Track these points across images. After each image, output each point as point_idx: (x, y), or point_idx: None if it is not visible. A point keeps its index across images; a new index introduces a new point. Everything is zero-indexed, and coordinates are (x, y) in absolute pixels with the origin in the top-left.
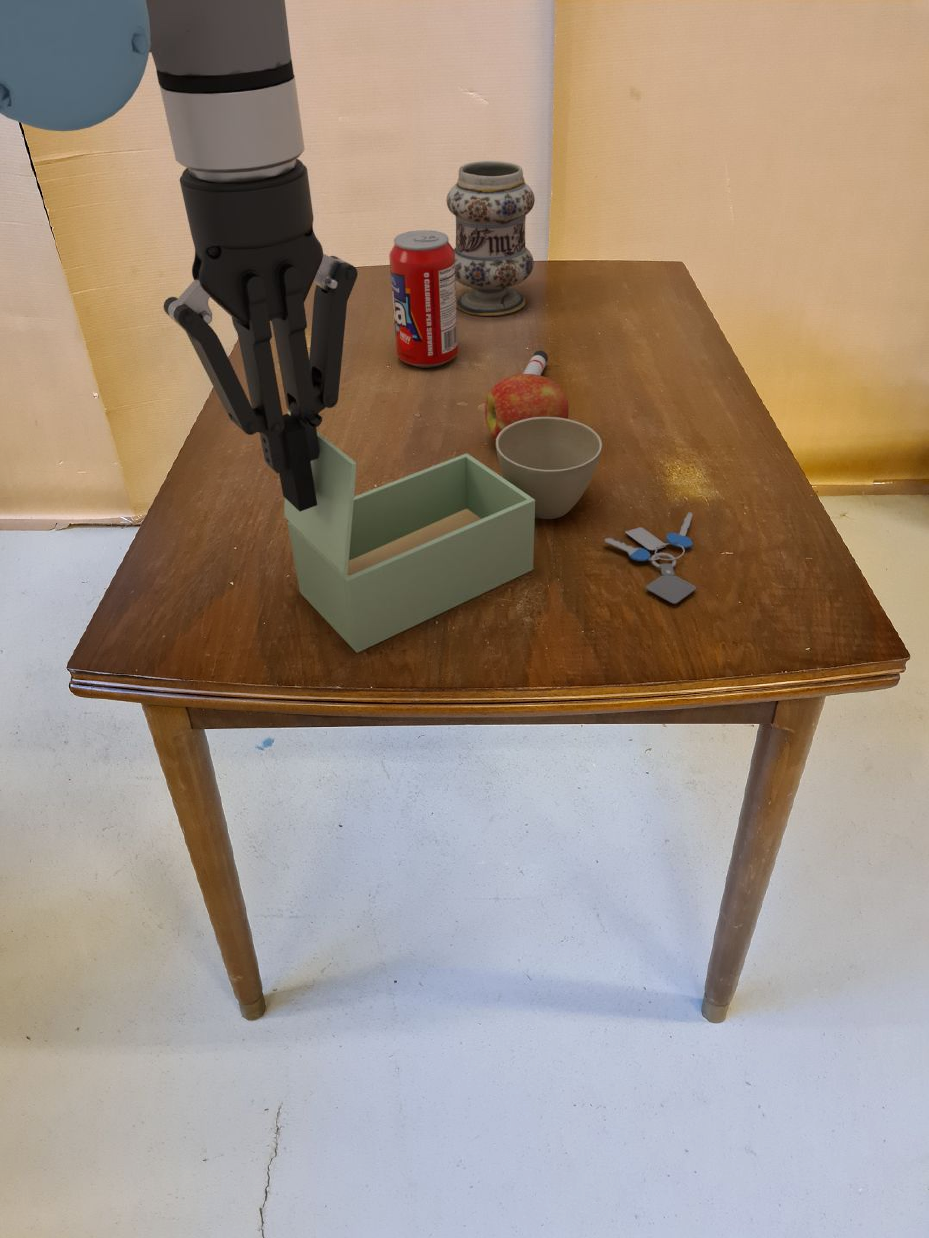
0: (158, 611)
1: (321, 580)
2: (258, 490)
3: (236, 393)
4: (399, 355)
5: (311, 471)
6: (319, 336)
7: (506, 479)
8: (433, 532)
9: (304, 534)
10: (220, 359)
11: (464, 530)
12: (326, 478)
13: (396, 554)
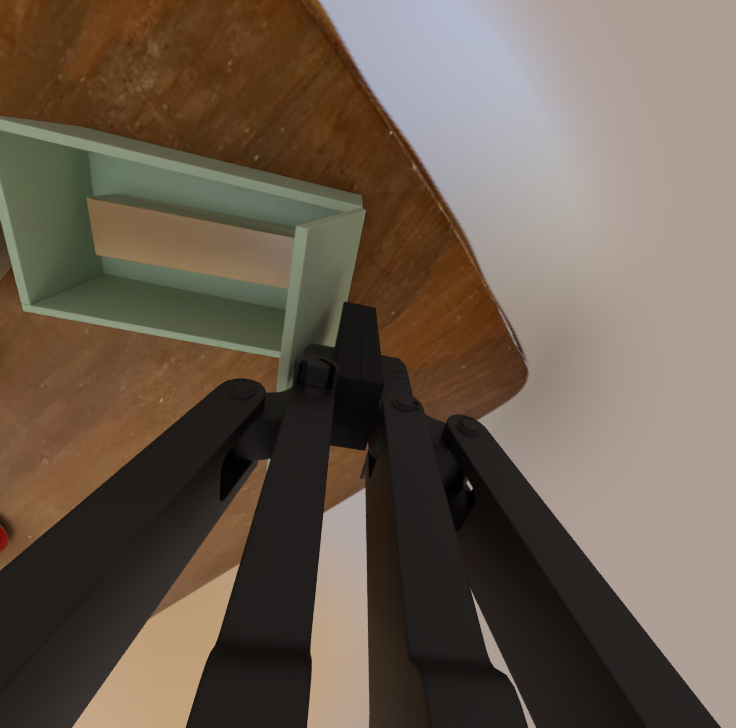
0: (442, 396)
1: None
2: (264, 467)
3: (523, 510)
4: (5, 542)
5: (342, 327)
6: (144, 581)
7: (1, 255)
8: (168, 250)
9: None
10: (621, 650)
11: (141, 153)
12: (318, 309)
13: (238, 252)
